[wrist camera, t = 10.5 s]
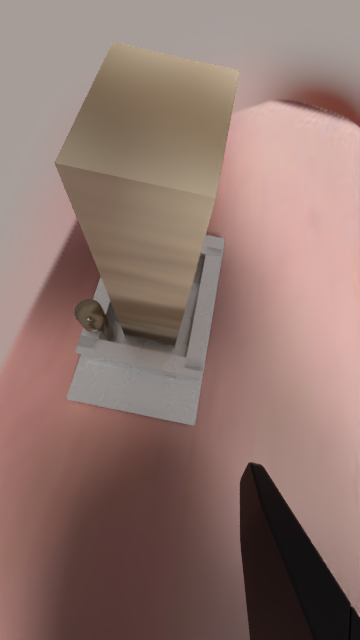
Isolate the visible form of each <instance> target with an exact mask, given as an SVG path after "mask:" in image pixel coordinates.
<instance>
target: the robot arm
mask: <svg viewBox="0 0 360 640" xmlns="http://www.w3.org/2000/svg"><path fill="white" fill-rule="evenodd" d="M240 542H241V554H242V564H243V574H244V583H245V593H246V603H247V613H248V622H249V632H250V640H360V617H359V615H358V614H357V612H356V611H355V609H354V608H353V607H352V606H351V604H350V601H349V600H348V598H347V597H346V595H345V594H344V592H343V590H342V589H341V587H340V586H339V584H338V583H337V581H336V579H335V578H334V576H333V575H332V573H331V572H330V570H329V569H328V567H327V565H326V564H325V562H324V561H323V559H322V558H321V556H320V554H319V553H318V551H317V550H316V548H315V547H314V545H313V544H312V542H311V540H310V539H309V537H308V536H307V534H306V533H305V531H304V529H303V528H302V526H301V525H300V523H299V522H298V520H297V518H296V517H295V515H294V514H293V512H292V511H291V509H290V508H289V506H288V504H287V503H286V501H285V500H284V498H283V497H282V495H281V493H280V492H279V490H278V489H277V487H276V486H275V484H274V482H273V481H272V479H271V478H270V476H269V475H268V473H267V472H266V470H265V468H264V467H263V466H262V465H260V464H256V463H252V462H250V463H248V465H247V467H246V469H245V471H244V473H243V475H242V477H241V480H240Z"/></svg>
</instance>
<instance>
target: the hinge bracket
mask: <svg viewBox="0 0 360 640" xmlns="http://www.w3.org/2000/svg"><path fill="white" fill-rule="evenodd" d="M224 244H225V239H224V238H219V237H215V236H210V235H206V236H205V240H204V243H203V247H202V250H201V254H200V258H199V261H198V265H197V268H196V272H195V276H194V279H193V283H192V286H191V290H190V294H189V297H188V301H187V304H186V308H185V312H184V315H183V319H182V322H181V326H180V330H179V333H178V337H177V340H176V344H175V345H173V344H169V343H164V342H159V341H154V340H149V339H145V338H140V337H135V336H130V335H125V334H124V333H123V330H122V328H121V326H120V323H119V321H118V318H117V316H116V313H115V311H114V308H113V306H112V303H111V301H110V298H109V296H108V293H107V291H106V288H105V286H104V283H103V281H102V279H101V277H100V280H99V283H98V286H97V289H96V292H95V295H94V298H93V300H92V299H87V300H84V301H82V302H80V303H79V304H78V305H77V307H76V309H75V317H76V319H77V320H78V321H79V322H80V323H81V325H82V326H83V330H82V333H81V336H80V339H79V342H78V345H77V348H76V351H75V353H77V354H78V355H79V356H80V359H79V362H78V365H77V368H76V371H75V374H74V377H73V380H72V383H71V386H70V389H69V392H68V395H67V398H66V399H67V400H72V401H77V402H82V403H86V404H91V405H96V406H101V407H106V408H111V409H115V410H120V411H125V412H130V413H135V414H140V415H144V416H149V417H154V418H159V419H164V420H169V421H173V422H178V423H183V424H188V425H193V426H195V421H196V415H197V409H198V403H199V397H200V391H201V385H202V379H203V372H204V366H205V360H206V354H207V348H208V342H209V336H210V329H211V323H212V317H213V311H214V305H215V299H216V293H217V287H218V280H219V274H220V268H221V262H222V256H223V250H224Z"/></svg>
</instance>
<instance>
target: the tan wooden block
mask: <svg viewBox="0 0 360 640" xmlns="http://www.w3.org/2000/svg"><path fill="white" fill-rule="evenodd" d="M238 76H239V70H234V69H230V68H226V67H221V66H217V65H212V64H208V63H204V62H199V61H195V60H190V59H186V58H181V57H177V56H172V55H168V54H163V53H159V52H155V51H150V50H146V49H141V48H137V47H132V46H128V45H123V44H119V43H114V42H113V43H112V45H111V47H110V49H109V51H108V53H107V55H106V57H105V59H104V61H103V63H102V65H101V68H100V70H99V72H98V74H97V76H96V78H95V80H94V82H93V84H92V87H91V88H90V90H89V93H88V95H87V97H86V99H85V101H84V103H83V105H82V107H81V109H80V112H79V113H78V115H77V118H76V120H75V122H74V124H73V126H72V128H71V130H70V132H69V134H68V136H67V138H66V140H65V143H64V145H63V147H62V149H61V151H60V153H59V155H58V157H57V159H56V161H55V164H56V167H57V170H58V172H59V175H60V177H61V180H62V182H63V185H64V187H65V189H66V192H67V195H68V197H69V199H70V202H71V204H72V207H73V209H74V211H75V214H76V217H77V219H78V222H79V224H80V227H81V229H82V232H83V234H84V237H85V239H86V241H87V244H88V246H89V249H90V251H91V254H92V256H93V259H94V261H95V264H96V266H97V269H98V271H99V274H100V276H101V279H102V281H103V283H104V286H105V288H106V291H107V293H108V296H109V298H110V301H111V303H112V306H113V308H114V311H115V313H116V316H117V318H118V321H119V323H120V326H121V328H122V330H123V333H124V334H125V335H130V336H135V337H140V338H145V339H149V340H154V341H159V342H164V343H169V344H173V345H175V344H176V340H177V337H178V333H179V330H180V326H181V322H182V319H183V315H184V312H185V308H186V304H187V301H188V297H189V294H190V290H191V286H192V283H193V279H194V276H195V272H196V268H197V265H198V261H199V258H200V254H201V250H202V247H203V243H204V240H205V236H206V232H207V229H208V225H209V222H210V218H211V214H212V211H213V207H214V204H215V200H216V196H217V190H218V185H219V179H220V174H221V169H222V163H223V158H224V152H225V147H226V142H227V136H228V131H229V125H230V120H231V115H232V109H233V104H234V98H235V93H236V88H237V82H238Z"/></svg>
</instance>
